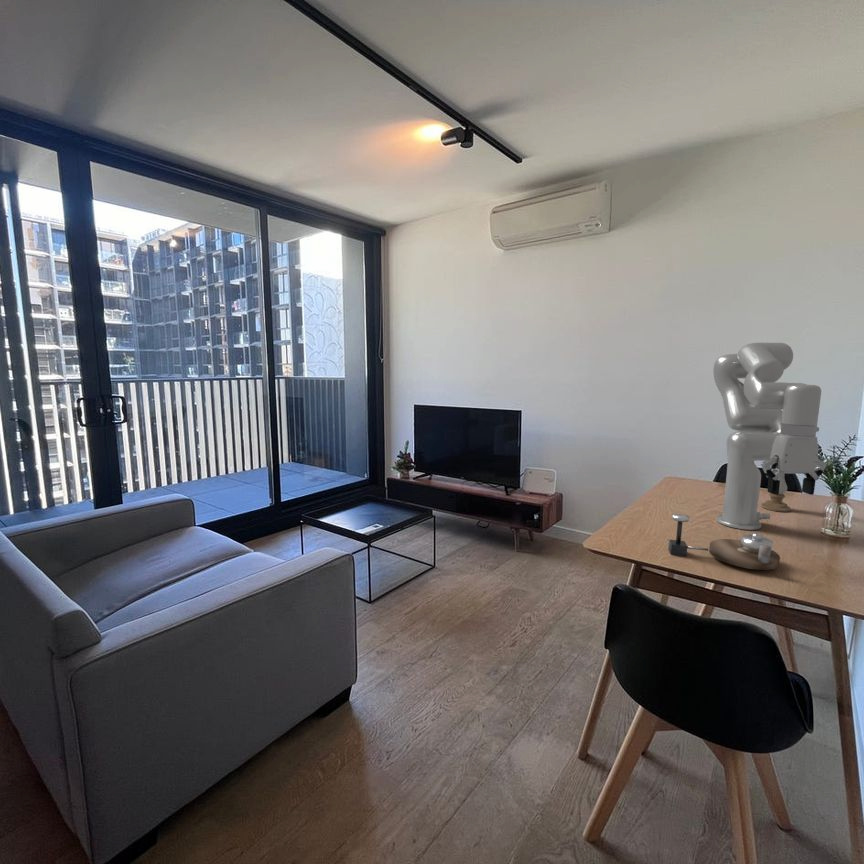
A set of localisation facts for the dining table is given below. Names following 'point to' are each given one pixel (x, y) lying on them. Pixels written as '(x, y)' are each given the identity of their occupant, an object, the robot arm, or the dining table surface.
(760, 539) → the lid
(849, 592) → the dining table surface
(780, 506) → the candle holder
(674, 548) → the lever with ball knob
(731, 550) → the turntable
